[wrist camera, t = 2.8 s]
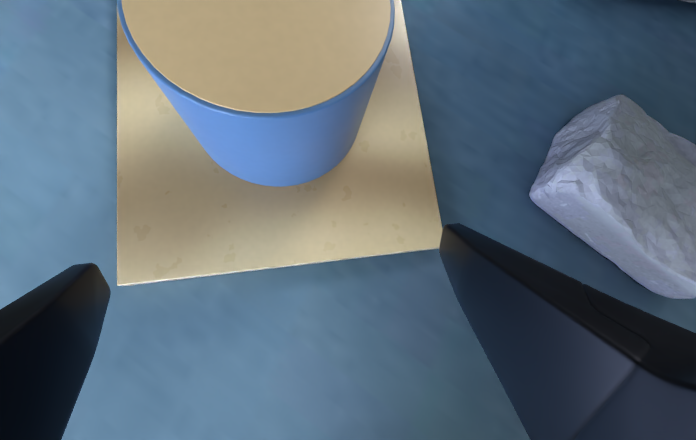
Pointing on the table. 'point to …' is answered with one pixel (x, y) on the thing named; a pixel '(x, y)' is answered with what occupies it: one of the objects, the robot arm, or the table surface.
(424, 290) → the table surface
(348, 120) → the blue cylinder
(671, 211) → the stone block
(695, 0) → the vintage electronic device
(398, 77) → the birch board
